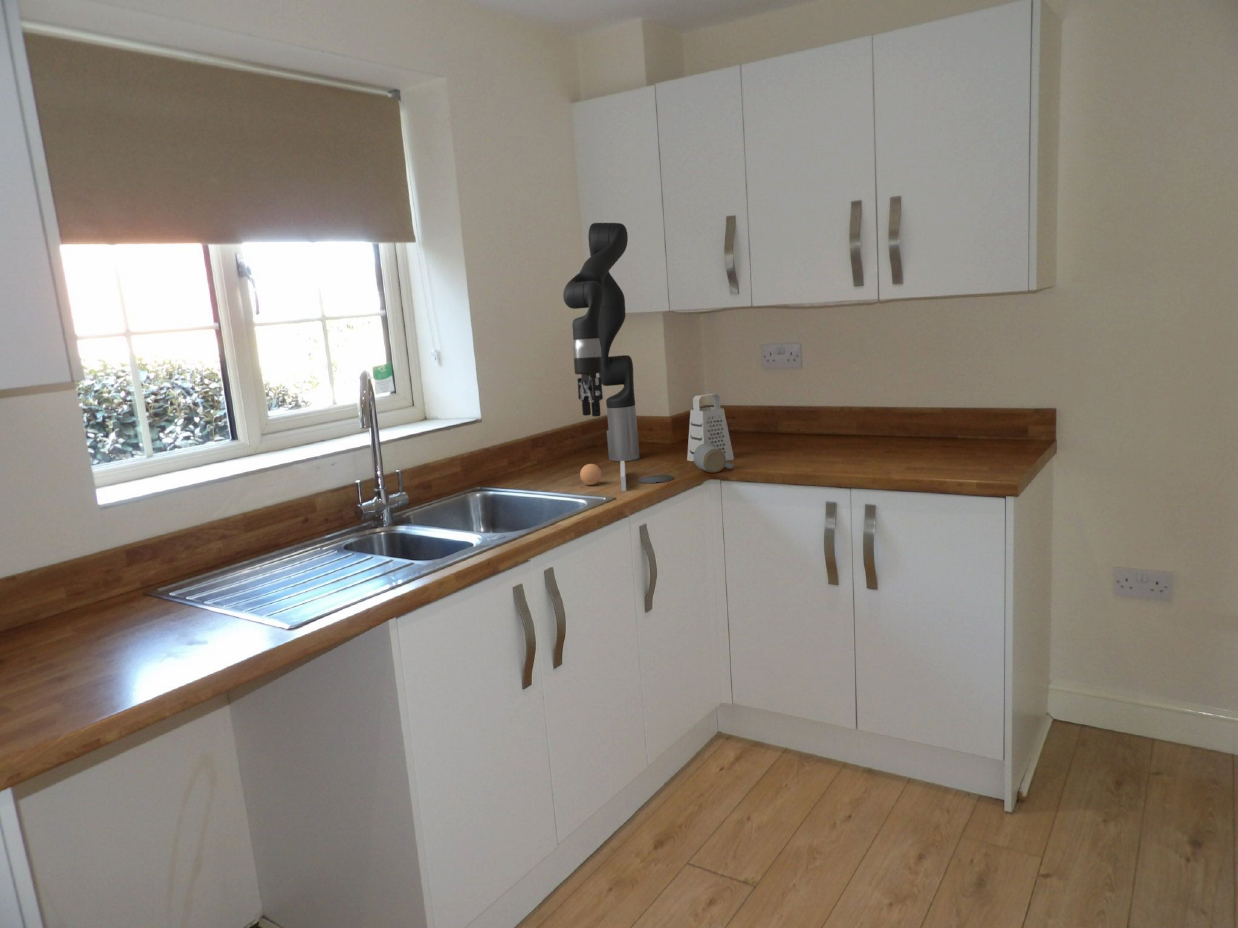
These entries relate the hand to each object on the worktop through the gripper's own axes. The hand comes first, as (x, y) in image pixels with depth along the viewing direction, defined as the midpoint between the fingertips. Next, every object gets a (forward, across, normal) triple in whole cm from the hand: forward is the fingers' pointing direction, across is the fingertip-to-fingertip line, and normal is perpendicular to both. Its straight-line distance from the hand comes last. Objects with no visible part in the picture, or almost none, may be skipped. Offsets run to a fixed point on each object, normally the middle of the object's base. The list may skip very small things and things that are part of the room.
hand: (591, 415), depth 245 cm
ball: (+17, +6, 0) cm, 18 cm away
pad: (+19, 0, -18) cm, 26 cm away
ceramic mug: (+19, 0, -36) cm, 41 cm away
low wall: (+20, +3, -9) cm, 22 cm away
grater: (+18, +16, -42) cm, 49 cm away
